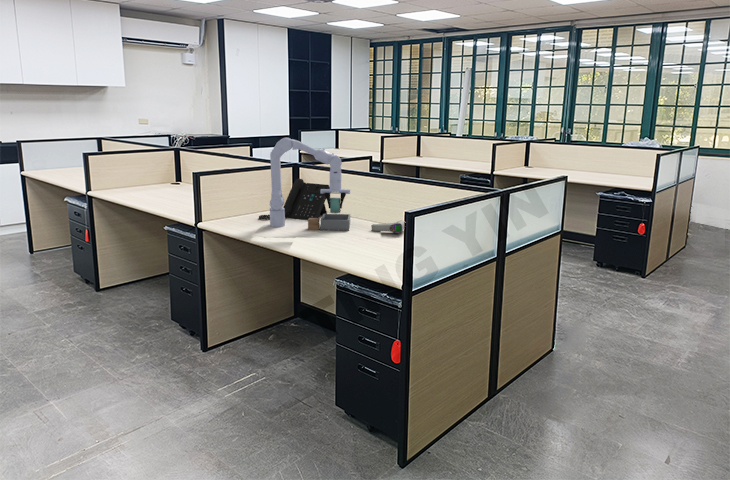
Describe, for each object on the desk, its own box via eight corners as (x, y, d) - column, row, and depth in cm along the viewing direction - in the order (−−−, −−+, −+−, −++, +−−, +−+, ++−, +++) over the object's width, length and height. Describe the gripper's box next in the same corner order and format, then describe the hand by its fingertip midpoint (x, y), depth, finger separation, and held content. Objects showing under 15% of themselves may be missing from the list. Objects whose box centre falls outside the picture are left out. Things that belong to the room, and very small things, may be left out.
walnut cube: (309, 228, 266) (309, 218, 265) (319, 228, 266) (319, 218, 265) (308, 230, 262) (307, 219, 260) (318, 230, 261) (318, 219, 260)
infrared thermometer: (370, 223, 260) (401, 223, 256) (376, 219, 271) (406, 219, 267) (371, 233, 261) (402, 233, 257) (377, 228, 272) (407, 228, 268)
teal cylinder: (328, 212, 270) (328, 198, 269) (334, 210, 274) (334, 197, 273) (336, 213, 267) (336, 199, 266) (342, 212, 271) (342, 198, 270)
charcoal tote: (323, 223, 278) (323, 213, 277) (350, 224, 278) (350, 214, 277) (320, 230, 261) (320, 219, 260) (349, 230, 261) (349, 220, 260)
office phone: (255, 219, 289) (254, 181, 284) (287, 212, 313) (286, 176, 309) (301, 224, 275) (301, 184, 271) (330, 216, 300) (331, 180, 296)
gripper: (319, 181, 264) (319, 209, 267) (349, 181, 264) (349, 209, 267) (321, 179, 271) (321, 206, 274) (350, 180, 271) (350, 207, 274)
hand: (335, 208), depth 271 cm, fingers closed on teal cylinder, 5 cm apart
